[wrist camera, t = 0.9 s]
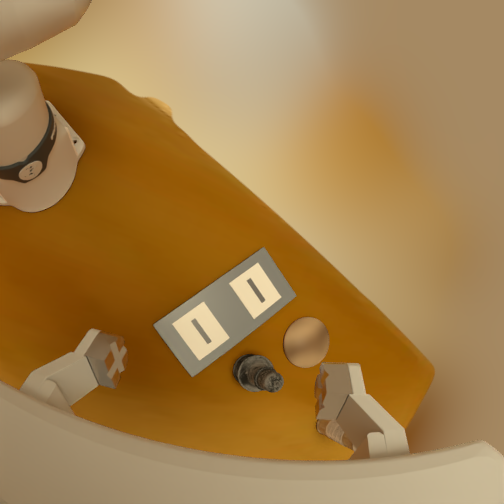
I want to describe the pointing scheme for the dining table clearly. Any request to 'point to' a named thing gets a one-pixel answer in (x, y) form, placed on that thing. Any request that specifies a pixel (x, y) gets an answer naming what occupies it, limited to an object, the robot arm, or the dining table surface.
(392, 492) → the robot arm
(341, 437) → the sprinkles bottle
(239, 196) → the dining table surface
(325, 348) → the coaster
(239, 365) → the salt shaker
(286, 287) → the label board
